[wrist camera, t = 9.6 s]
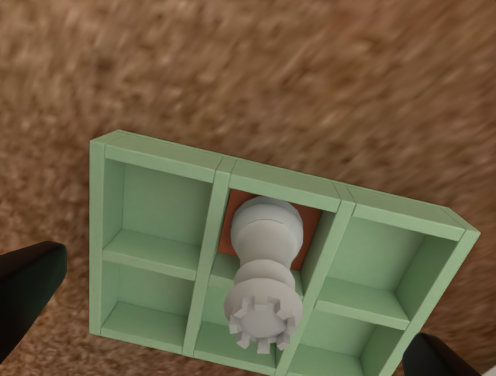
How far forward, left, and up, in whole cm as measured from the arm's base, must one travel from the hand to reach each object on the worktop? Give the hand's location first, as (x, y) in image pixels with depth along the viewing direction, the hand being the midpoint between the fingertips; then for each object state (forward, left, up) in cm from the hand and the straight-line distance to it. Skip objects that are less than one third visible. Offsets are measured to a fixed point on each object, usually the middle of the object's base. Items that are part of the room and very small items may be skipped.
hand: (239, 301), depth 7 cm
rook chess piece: (+1, -3, -11) cm, 11 cm away
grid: (+2, -7, -11) cm, 13 cm away
